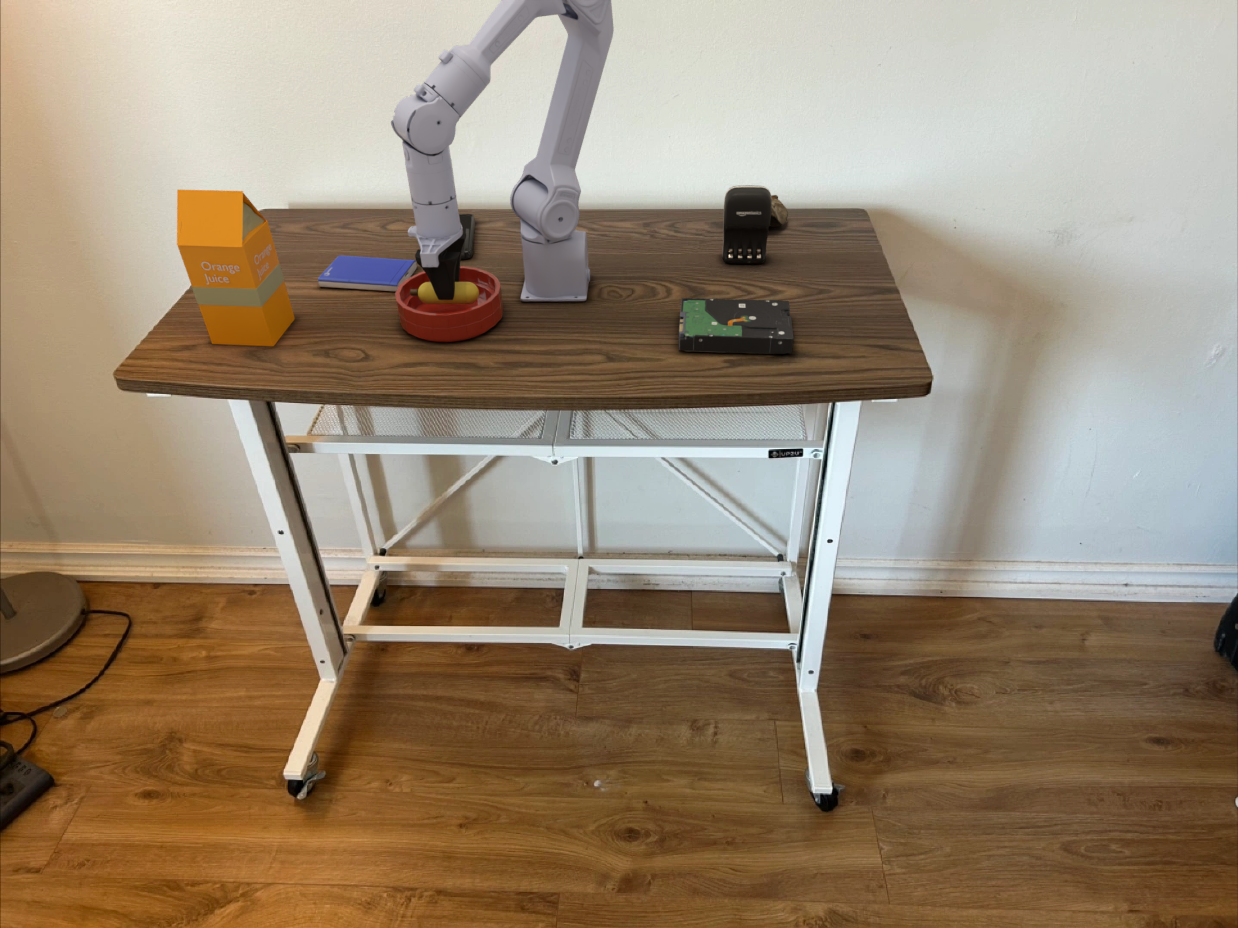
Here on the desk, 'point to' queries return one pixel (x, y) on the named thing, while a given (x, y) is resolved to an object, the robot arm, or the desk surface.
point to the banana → (463, 295)
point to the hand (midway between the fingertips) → (448, 292)
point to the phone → (467, 234)
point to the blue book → (367, 273)
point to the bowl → (451, 309)
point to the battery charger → (746, 224)
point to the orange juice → (232, 267)
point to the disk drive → (735, 326)
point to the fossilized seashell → (778, 212)
